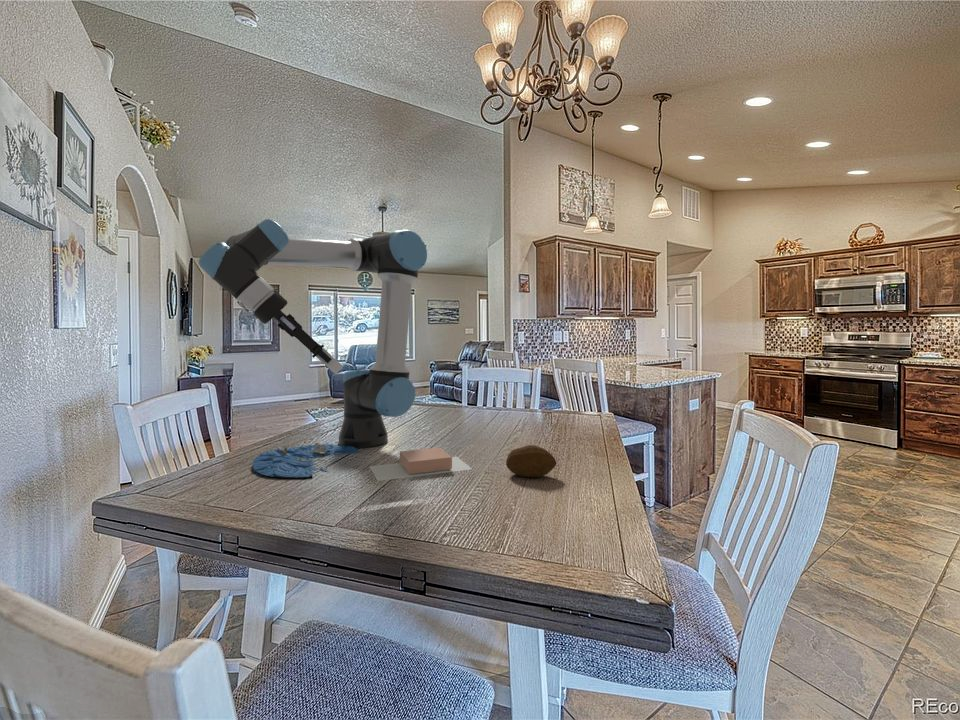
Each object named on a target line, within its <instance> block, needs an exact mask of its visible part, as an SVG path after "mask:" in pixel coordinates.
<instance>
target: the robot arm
mask: <svg viewBox="0 0 960 720" xmlns="http://www.w3.org/2000/svg"><path fill="white" fill-rule="evenodd" d="M427 260H428V250H427V245H426V244H425V241H423V239H422V237H421V236H420V235H419V234H417V233H416V232H415V231H414V230H413V231H412V230H410V229H409V230H408V229H402V230H401V229H397V230H394V231H392V232H388V233H387V232H386V233H384V234H378V235H374V236H371V237H364V238H363V237H362V238H349V239H348V241H345V240H330V239H329V240H328V239H327V240H326V239H314V238H301V237H300V238H299V237H298V238H297V237H296V238H295V237H289V236H288V234H287V232H286V231H285V229H284V228H283V227H282V226H281V225H280V224H279V223H278V222H276V221H275V220H273V219H269V218H267V219H263V220H262V221H261V222H259V223H257V224H256V225H255V227H253V228H251V229H250V230H247V231H245V232H242V233H239V234H235V235H232V236H230V237H229V238H228V239H226V240H225V241H224V242H223V241H219V242H216V243H215V244H213V245H211V246H210V247H208V249H206V250H205V251H204V252H203V254H202V255H201V256H200V258H199V260H198V265H199V267H200V268H201V269H202V270H203V271H204V272H205V273H206V274H207V275H208V276H209V277H210V278H211V280H213V281H214V282H216V283H217V284H218V285H220V287H222V288H223V289H224V290H225V291H227V293H229V295H231V296H233V298H235V300H237V301H238V302H239V303H238V306H239V307H241V308H242V307H243V306H244V307H245V309H247V310H248V311H249V312H252V311H253V316H254V317H256V319H257V320H259V322H261V323H262V324H264V325H266V324H268V323H269V322H270V321H271V320H272V319H274V320H276V321H277V322H278V324H277V325H276V326H278V328H280V330H282V331H284V332H285V333H287V334H288V335H289V336H290V337H292V338H293V337H294V338H295V339H297V340H298V341H299V343H301V344H302V345H304V347H306V348H307V349H308V350H309V352H310V353H312V355H311V357H312V358H313V359H314V358H316V359H318V360H319V361H320V362H321V363H323V364H324V365H325V366H326V367H327V368H328V369H329V370H331V372H332V373H334V374H335V375H337V374H339V372H340V371H341V370H342V368H344V365H343V364H342V363H340V362H339V360H337V359H336V358H335V357H334V356H333V355H331V353H329V352H328V351H327V350H326V349H325V348H324V347H325V345H324V344H319V343H318V342H317V341H316V340H315V339H314V338H312V337H311V336H310V335H309V334H308V333H307V332H306V331H304V330H303V326H302V325H301V323H299V322H298V321H296V318H295V317H294V316H293V315H292V314H291V313H288V314H287V315H286V313H284V312H283V309H284V308H285V307H286V306H287V305H288V300H287V299H285V298H284V297H283V296H282V294H280V293H279V292H277V291H275V292H274V290H275V289H274V287H273V286H272V285H271V284H270V283H268V282H267V280H265V279H264V278H263V277H262V276H260V274H258V273H257V272H258V271H259V270H260V269H261V268H262V267H264V266H281V267H282V266H283V267H284V266H285V267H286V266H287V267H288V266H289V267H318V268H319V267H321V268H322V267H323V268H325V267H327V268H348V269H349V270H350V271H352V272H366V273H374V274H375V273H376V274H377V277H378V278H379V279H380V281H381V293H380V305H379V316H378V317H379V318H378V327H377V339H376V341H377V342H376V351H375V363H374V364H372V365H371V367H369V369H367V368H366V369H357V370H348V371H345V372H344V374H343V381H342V386H343V388H342V390H343V421H342V425H341V428H340V429H339V434H338V445H343V446H352V447H354V448H356V449H359V448H372V447H378V446H381V445H384V444H386V443H387V442H388V441H389V440H388V435H389V434H388V431H387V428H386V426H385V423H384V420H383V417H391V418H398V417H401V416H403V415H405V414H407V412H408V411H409V410H410V409H411V407H412V406H413V405H414V403H415V399H416V389H415V386H414V384H413V382H412V381H411V380H410V370H409V369H408V368H407V366H406V357H407V346H408V345H407V344H408V335H409V334H408V333H409V332H408V331H409V323H410V322H409V321H410V309H411V299H412V298H411V297H412V286H413V284H414V283H415V282H417V281H418V276H419V270H421V269H422V268H423V266H425V265H426V263H427Z"/></svg>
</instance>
